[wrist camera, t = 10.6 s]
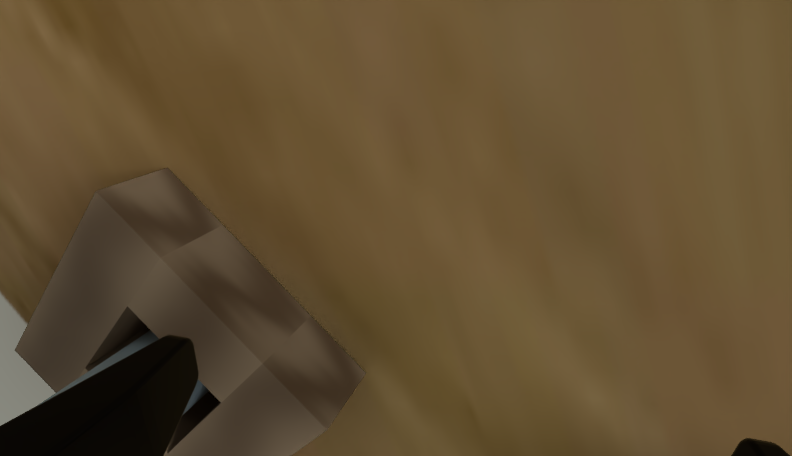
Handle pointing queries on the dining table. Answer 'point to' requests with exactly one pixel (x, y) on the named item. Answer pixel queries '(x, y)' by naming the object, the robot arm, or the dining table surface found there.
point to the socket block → (190, 321)
